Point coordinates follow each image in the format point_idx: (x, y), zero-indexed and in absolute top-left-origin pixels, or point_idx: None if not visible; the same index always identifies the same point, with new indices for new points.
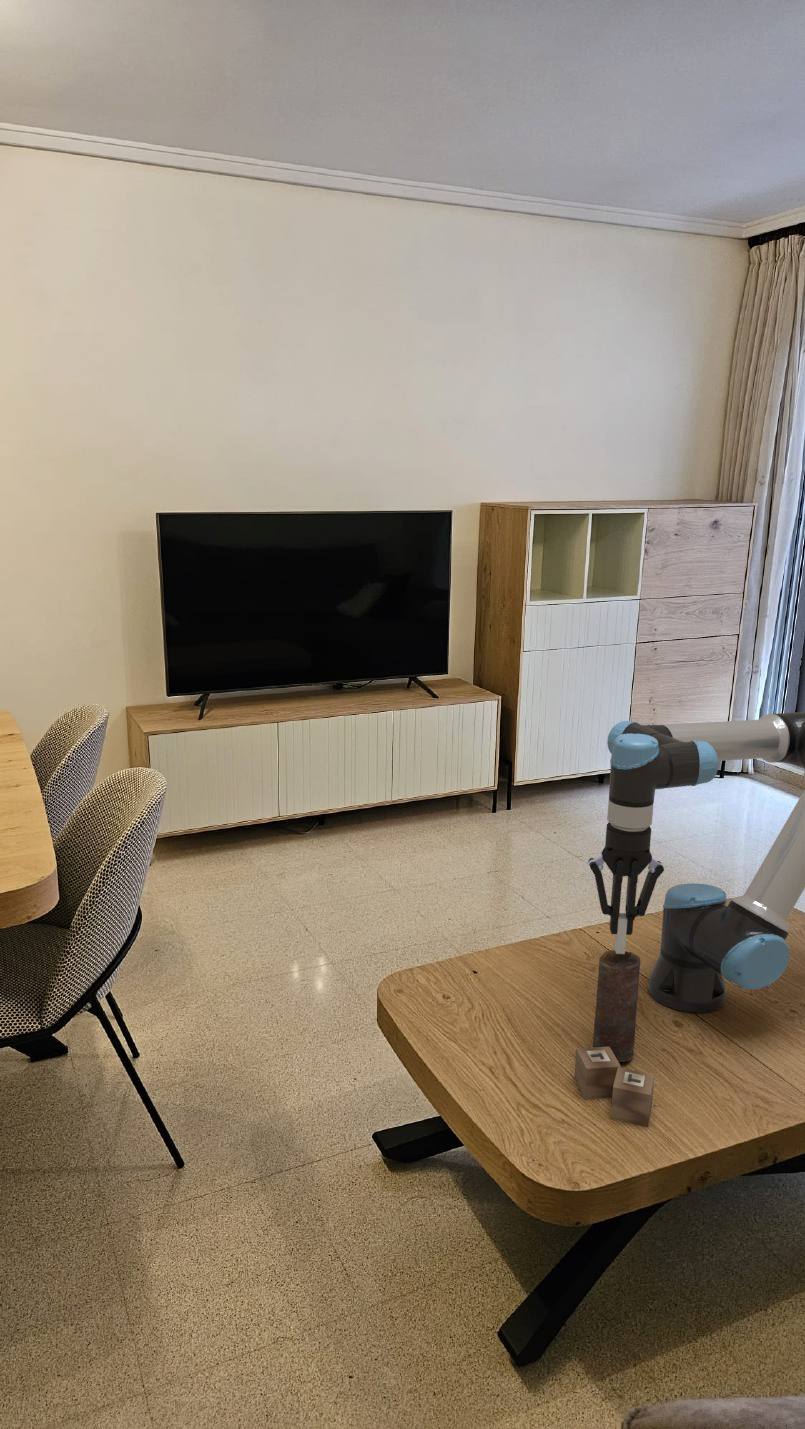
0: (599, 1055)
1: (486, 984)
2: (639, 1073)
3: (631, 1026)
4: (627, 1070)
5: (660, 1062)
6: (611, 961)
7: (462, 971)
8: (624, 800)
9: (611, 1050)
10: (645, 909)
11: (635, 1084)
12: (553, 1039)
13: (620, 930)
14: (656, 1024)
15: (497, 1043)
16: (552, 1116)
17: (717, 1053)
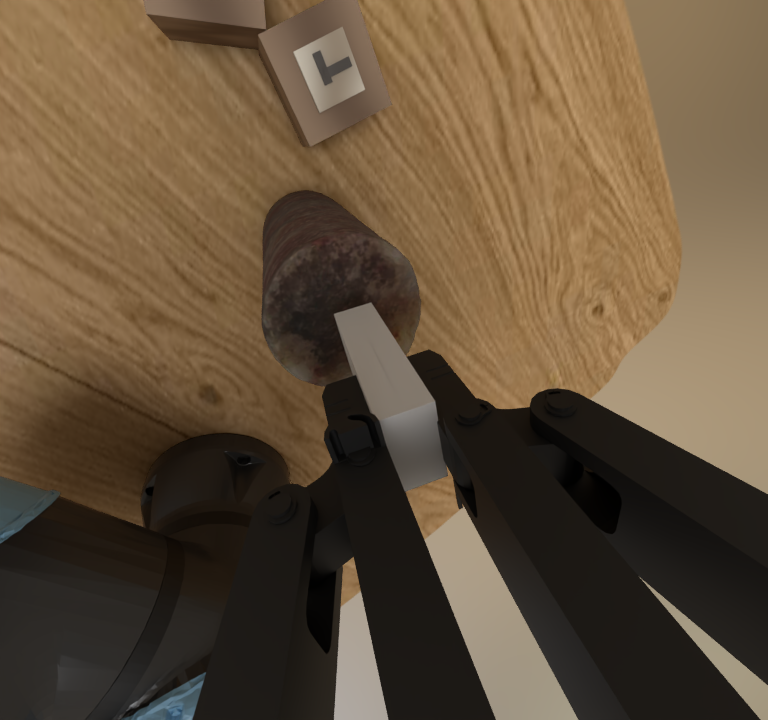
0: (327, 67)
1: (537, 370)
2: (193, 5)
3: (268, 228)
4: (233, 13)
5: (204, 247)
6: (376, 304)
7: (570, 387)
8: None
9: (301, 126)
10: (248, 553)
11: None
12: (425, 250)
13: (392, 363)
14: (248, 376)
15: (523, 195)
16: None
17: (95, 329)
